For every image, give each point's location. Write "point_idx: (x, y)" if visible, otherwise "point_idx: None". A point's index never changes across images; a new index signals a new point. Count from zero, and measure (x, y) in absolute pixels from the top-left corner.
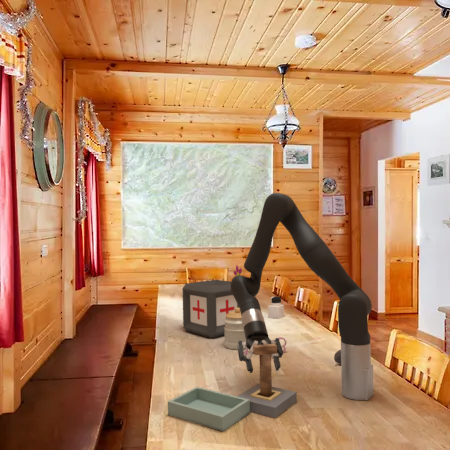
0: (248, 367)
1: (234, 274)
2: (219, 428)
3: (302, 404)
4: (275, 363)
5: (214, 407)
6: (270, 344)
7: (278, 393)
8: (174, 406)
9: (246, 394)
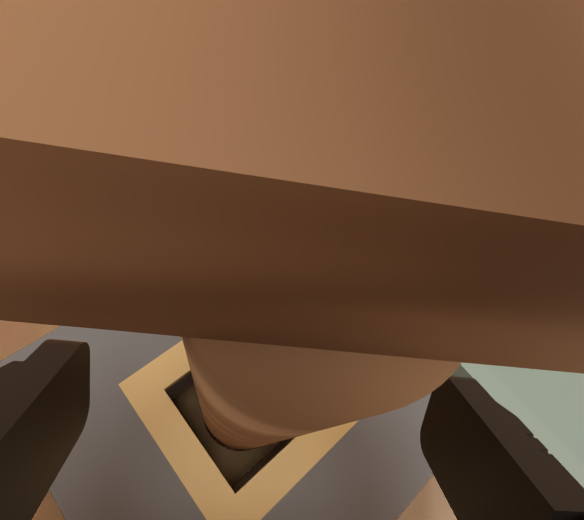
0: (512, 417)
1: None
2: None
3: (18, 328)
4: (42, 433)
5: (561, 439)
6: (45, 29)
7: (155, 365)
8: None
9: (385, 459)
